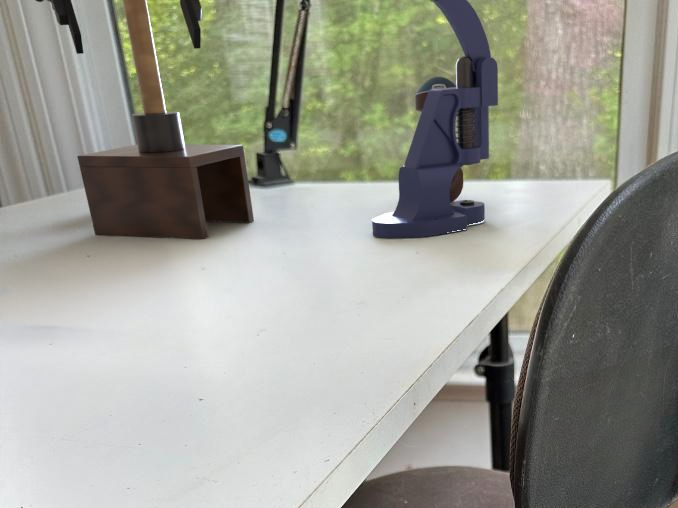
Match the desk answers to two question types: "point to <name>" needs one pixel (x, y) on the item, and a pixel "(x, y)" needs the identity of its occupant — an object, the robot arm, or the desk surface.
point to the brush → (150, 87)
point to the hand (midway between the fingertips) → (139, 41)
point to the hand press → (447, 139)
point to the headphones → (419, 103)
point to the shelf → (166, 190)
